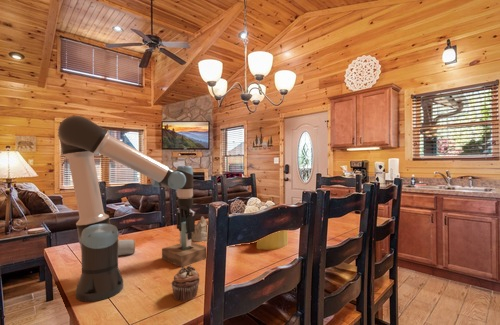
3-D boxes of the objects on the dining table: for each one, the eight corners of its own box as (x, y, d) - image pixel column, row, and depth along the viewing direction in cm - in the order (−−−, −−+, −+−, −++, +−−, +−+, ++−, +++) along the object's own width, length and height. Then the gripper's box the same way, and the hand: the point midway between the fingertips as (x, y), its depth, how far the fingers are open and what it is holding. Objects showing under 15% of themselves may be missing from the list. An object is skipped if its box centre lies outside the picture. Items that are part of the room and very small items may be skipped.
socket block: (181, 267, 119) (181, 256, 119) (162, 258, 129) (161, 248, 129) (208, 257, 131) (208, 247, 131) (189, 250, 141) (189, 241, 141)
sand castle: (220, 237, 164) (218, 213, 165) (197, 244, 153) (195, 218, 154) (206, 234, 176) (205, 211, 176) (184, 240, 165) (182, 216, 165)
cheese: (240, 248, 144) (240, 221, 144) (246, 235, 170) (246, 212, 170) (288, 250, 141) (288, 222, 141) (287, 236, 167) (287, 212, 167)
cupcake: (190, 286, 101) (190, 260, 101) (204, 295, 94) (204, 267, 94) (166, 295, 94) (166, 266, 94) (179, 305, 87) (179, 275, 87)
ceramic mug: (135, 255, 134) (135, 240, 134) (117, 257, 131) (117, 242, 131) (134, 249, 144) (134, 235, 144) (117, 251, 140) (117, 237, 140)
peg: (184, 253, 127) (184, 224, 127) (179, 251, 130) (179, 222, 130) (191, 250, 130) (191, 222, 130) (186, 249, 133) (186, 221, 133)
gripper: (202, 198, 127) (202, 246, 127) (181, 195, 138) (182, 239, 138) (189, 199, 121) (189, 250, 122) (168, 196, 133) (169, 243, 133)
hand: (185, 244), depth 130 cm, fingers closed on peg, 4 cm apart
